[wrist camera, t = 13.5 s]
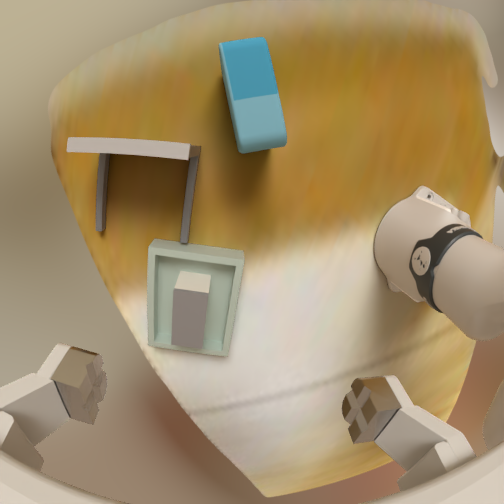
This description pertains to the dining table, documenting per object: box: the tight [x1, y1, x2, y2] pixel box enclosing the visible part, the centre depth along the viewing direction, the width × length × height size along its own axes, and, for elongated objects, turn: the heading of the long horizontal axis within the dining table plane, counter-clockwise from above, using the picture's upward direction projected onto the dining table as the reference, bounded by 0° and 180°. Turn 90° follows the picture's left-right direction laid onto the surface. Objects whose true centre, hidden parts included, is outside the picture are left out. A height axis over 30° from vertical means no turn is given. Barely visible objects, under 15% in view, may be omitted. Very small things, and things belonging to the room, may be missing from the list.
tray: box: [147, 239, 245, 357], centre depth 42 cm, size 13×17×4 cm
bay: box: [67, 137, 201, 243], centre depth 32 cm, size 14×13×11 cm
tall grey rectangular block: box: [171, 271, 211, 349], centre depth 40 cm, size 4×9×6 cm, turn 170°
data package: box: [219, 37, 287, 154], centre depth 29 cm, size 12×4×12 cm, turn 11°
